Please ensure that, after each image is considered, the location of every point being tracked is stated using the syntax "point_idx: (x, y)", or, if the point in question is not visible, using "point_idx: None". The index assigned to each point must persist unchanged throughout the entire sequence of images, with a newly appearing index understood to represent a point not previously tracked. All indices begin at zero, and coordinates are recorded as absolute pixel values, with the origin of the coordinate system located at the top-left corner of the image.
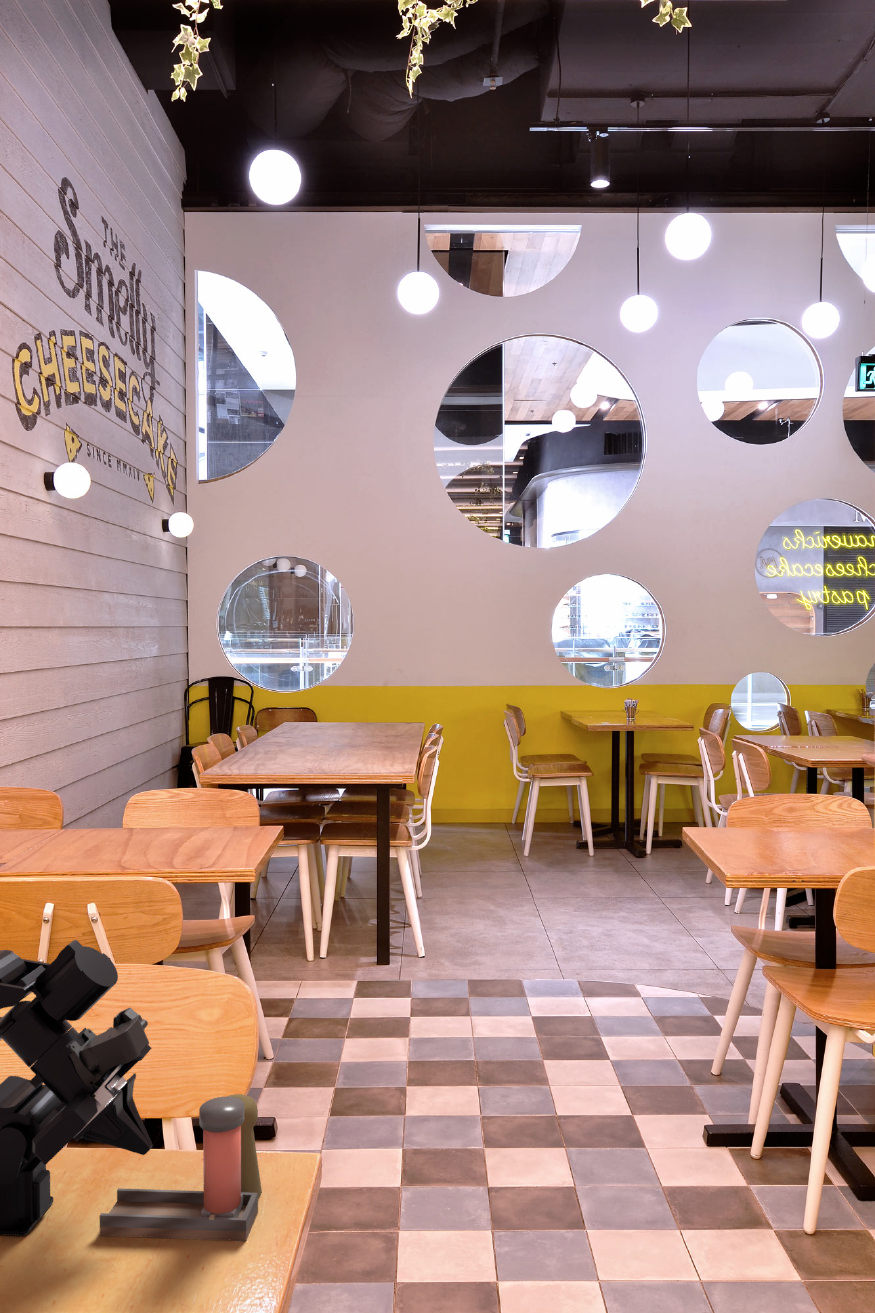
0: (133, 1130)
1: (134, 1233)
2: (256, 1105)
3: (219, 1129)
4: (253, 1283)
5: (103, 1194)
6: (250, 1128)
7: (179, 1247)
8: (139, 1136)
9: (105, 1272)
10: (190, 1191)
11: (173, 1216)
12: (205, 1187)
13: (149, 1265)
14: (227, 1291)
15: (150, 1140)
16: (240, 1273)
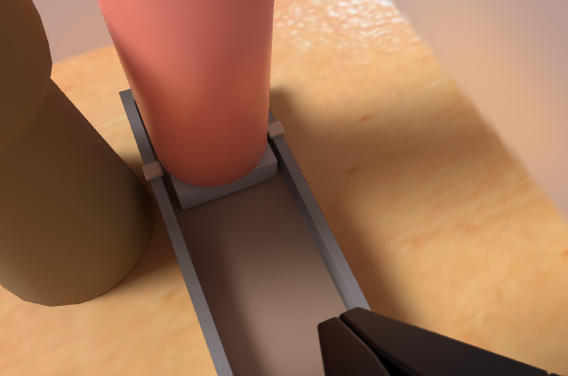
0: (506, 362)
1: None
2: None
3: None
4: (345, 16)
5: None
6: None
7: (338, 210)
8: (436, 340)
9: (517, 314)
10: (187, 274)
11: (324, 230)
12: (263, 117)
13: (429, 230)
14: (390, 42)
15: (323, 336)
16: (336, 48)
